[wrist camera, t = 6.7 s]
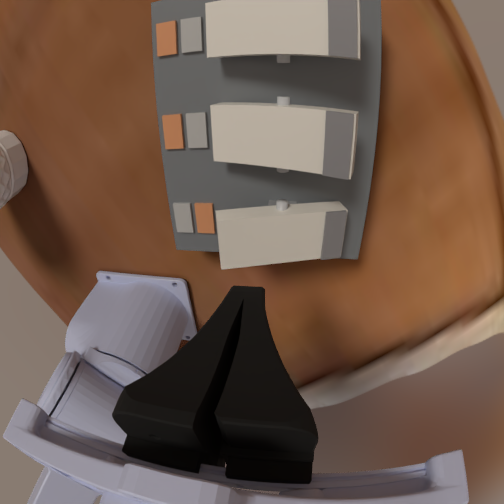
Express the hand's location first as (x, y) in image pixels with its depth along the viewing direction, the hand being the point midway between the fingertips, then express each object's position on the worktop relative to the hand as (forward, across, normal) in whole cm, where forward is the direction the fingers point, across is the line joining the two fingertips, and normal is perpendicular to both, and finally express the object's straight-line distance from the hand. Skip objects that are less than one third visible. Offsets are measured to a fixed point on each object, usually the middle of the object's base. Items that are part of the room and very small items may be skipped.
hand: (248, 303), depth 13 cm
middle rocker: (+5, -1, -6) cm, 8 cm away
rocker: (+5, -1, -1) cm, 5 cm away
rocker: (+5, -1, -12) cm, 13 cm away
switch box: (+10, 0, -6) cm, 12 cm away
